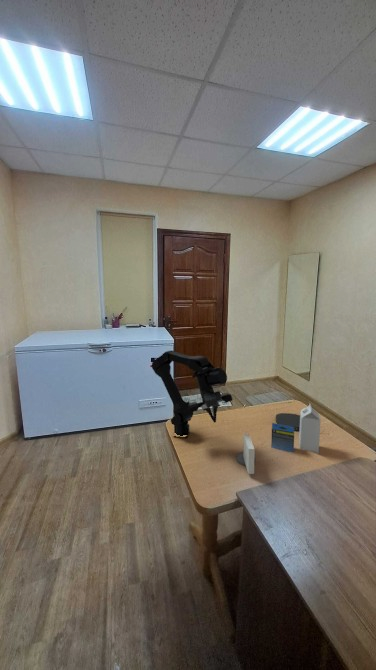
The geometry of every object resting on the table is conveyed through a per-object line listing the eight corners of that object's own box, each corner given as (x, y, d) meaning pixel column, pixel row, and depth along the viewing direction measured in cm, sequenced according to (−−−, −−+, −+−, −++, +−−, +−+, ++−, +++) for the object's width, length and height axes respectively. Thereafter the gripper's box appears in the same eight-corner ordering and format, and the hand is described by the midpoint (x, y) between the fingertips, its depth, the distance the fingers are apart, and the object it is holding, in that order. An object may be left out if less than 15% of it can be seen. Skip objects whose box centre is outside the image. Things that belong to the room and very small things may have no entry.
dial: (235, 454, 108) (235, 429, 107) (252, 454, 108) (253, 429, 106) (241, 477, 95) (241, 449, 93) (261, 477, 95) (261, 449, 93)
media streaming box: (303, 419, 141) (304, 414, 141) (309, 433, 127) (309, 427, 127) (274, 416, 144) (275, 411, 144) (277, 430, 130) (277, 424, 130)
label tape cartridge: (294, 450, 113) (295, 422, 111) (293, 455, 109) (294, 427, 108) (272, 445, 117) (273, 419, 115) (270, 450, 113) (271, 422, 111)
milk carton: (316, 445, 116) (318, 404, 113) (318, 454, 109) (321, 410, 107) (298, 442, 118) (300, 402, 116) (299, 451, 112) (301, 408, 109)
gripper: (185, 394, 105) (195, 433, 104) (230, 382, 106) (241, 420, 106) (183, 391, 116) (192, 426, 115) (224, 379, 118) (233, 414, 117)
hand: (214, 422), depth 113 cm, fingers closed
